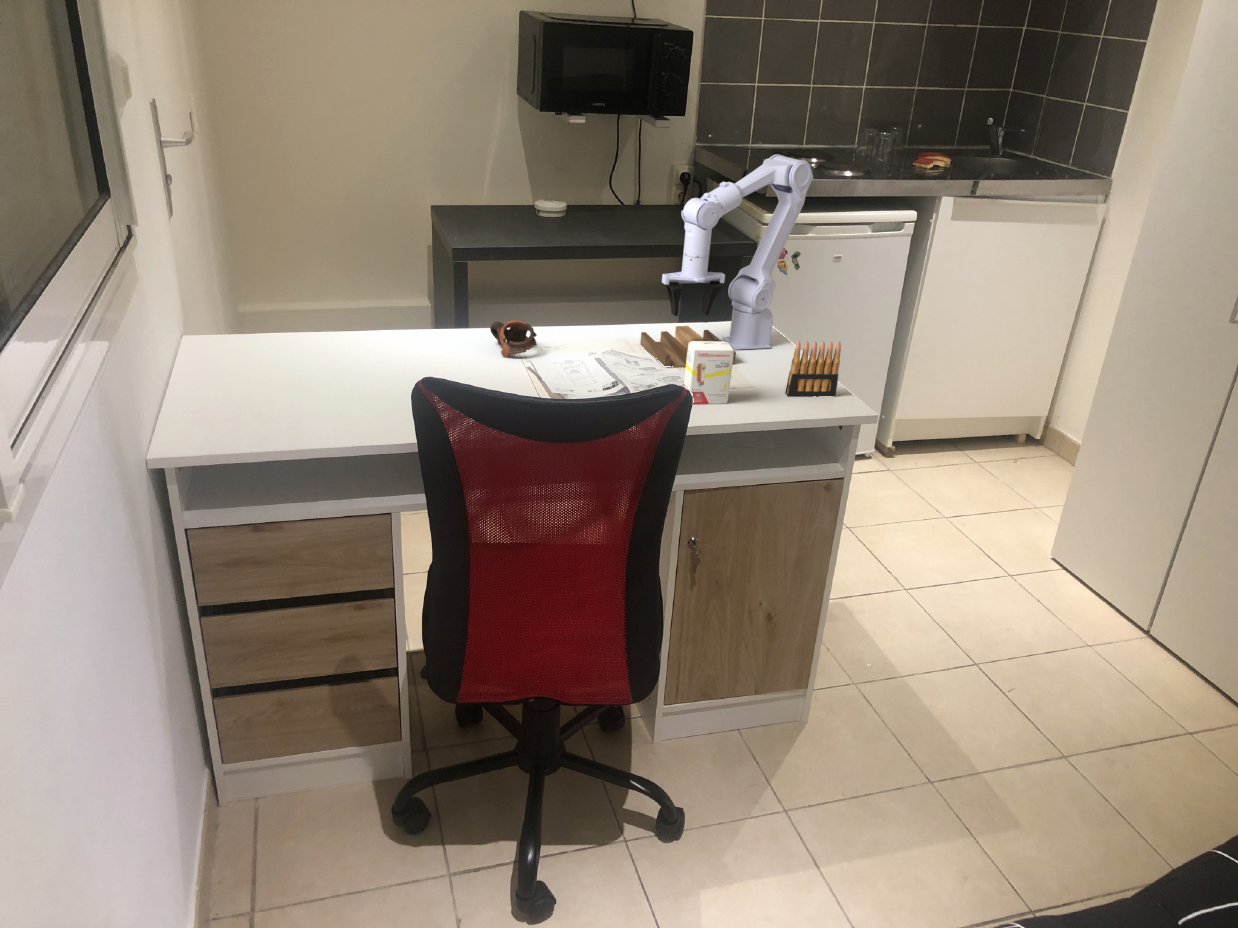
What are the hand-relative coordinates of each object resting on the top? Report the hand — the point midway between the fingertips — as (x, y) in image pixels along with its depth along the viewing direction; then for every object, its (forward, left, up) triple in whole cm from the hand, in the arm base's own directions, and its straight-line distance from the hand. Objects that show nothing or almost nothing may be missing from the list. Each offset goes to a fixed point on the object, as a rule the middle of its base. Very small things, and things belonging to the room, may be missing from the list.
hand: (689, 314), depth 216 cm
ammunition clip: (-17, +29, -10) cm, 35 cm away
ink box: (+7, +28, -10) cm, 30 cm away
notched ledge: (0, +1, -9) cm, 9 cm away
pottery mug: (+40, -6, -10) cm, 41 cm away
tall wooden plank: (0, +1, -9) cm, 9 cm away
